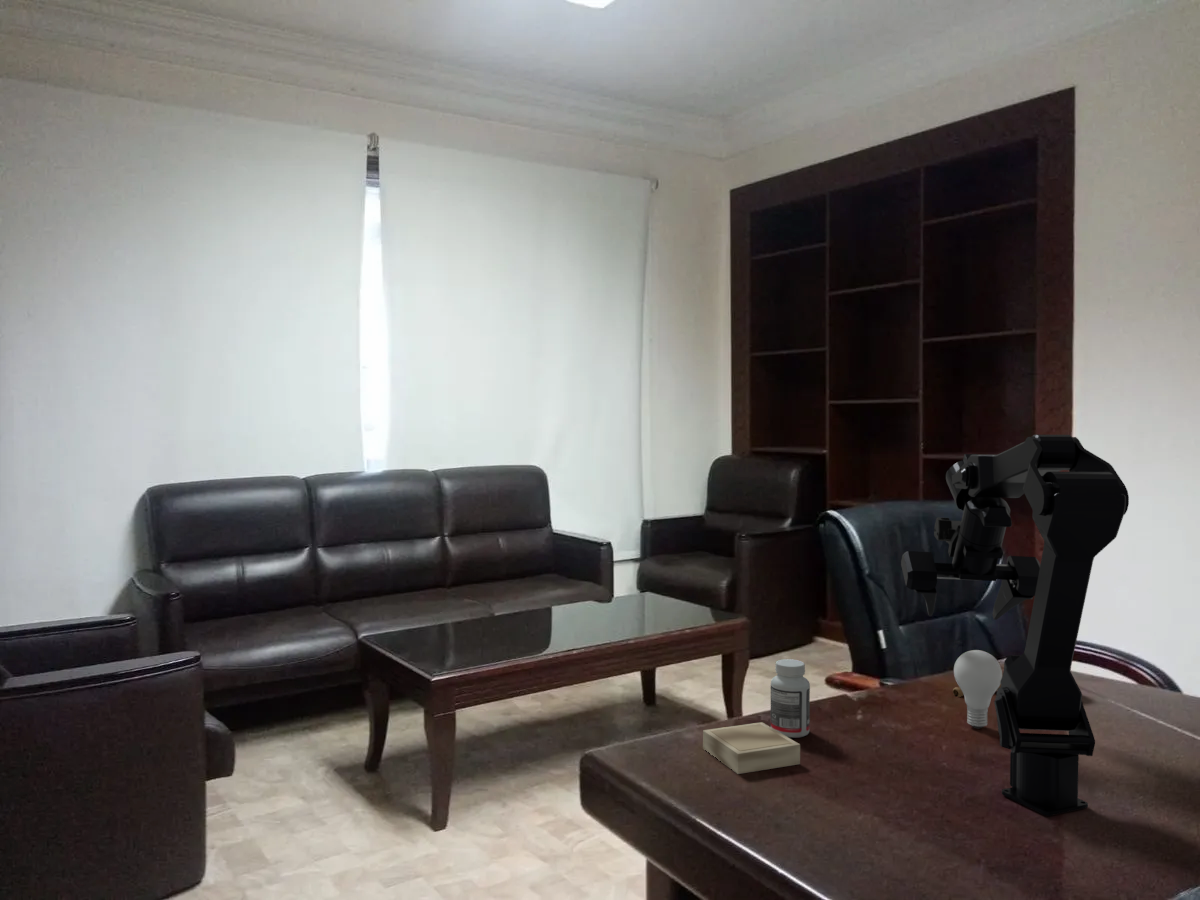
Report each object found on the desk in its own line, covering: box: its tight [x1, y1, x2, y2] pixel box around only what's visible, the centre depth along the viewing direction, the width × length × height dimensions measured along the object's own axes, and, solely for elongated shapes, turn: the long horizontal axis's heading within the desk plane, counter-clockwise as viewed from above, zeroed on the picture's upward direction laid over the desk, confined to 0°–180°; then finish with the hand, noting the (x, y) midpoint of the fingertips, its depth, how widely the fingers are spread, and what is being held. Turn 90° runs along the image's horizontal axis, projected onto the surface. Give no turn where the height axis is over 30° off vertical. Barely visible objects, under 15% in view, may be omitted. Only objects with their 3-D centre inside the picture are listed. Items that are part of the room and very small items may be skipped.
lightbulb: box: [953, 649, 1003, 729], centre depth 124 cm, size 6×6×11 cm
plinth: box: [702, 721, 801, 775], centre depth 113 cm, size 9×9×3 cm
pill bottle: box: [770, 658, 811, 739], centre depth 122 cm, size 5×5×10 cm
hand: (961, 615), depth 130 cm, fingers open, 9 cm apart
